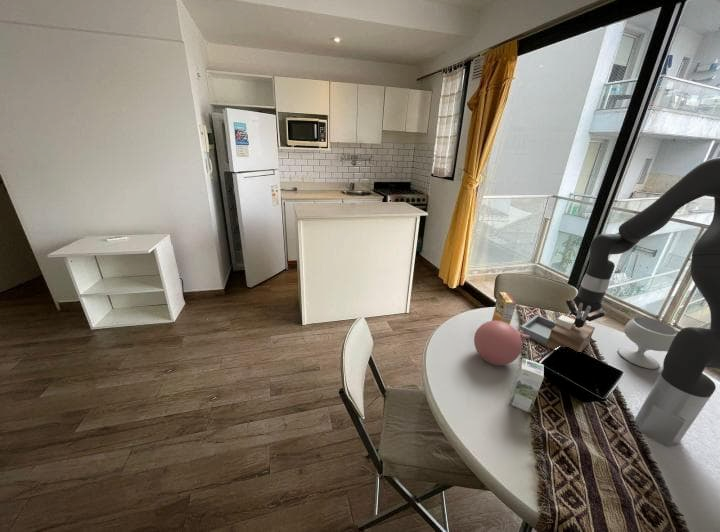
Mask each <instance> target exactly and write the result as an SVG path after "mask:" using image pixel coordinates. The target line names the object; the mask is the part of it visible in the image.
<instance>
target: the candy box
mask: <svg viewBox="0 0 720 532" xmlns="http://www.w3.org/2000/svg"><path fill="white" fill-rule="evenodd" d="M495 303H496V304H495V308H494V311H493V315H492V317H491V321H502V322H505V323H507V324H509V325H511V322H512V318H513V316H514V312H515V309H516V305H517V302H516V301H515V300H514V298H513V297H512V295H510V293H509V292H501V291H499V292H498V296H497V299H496V302H495Z"/></svg>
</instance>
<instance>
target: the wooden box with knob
mask: <svg viewBox="0 0 720 532" xmlns="http://www.w3.org/2000/svg"><path fill="white" fill-rule="evenodd" d="M568 317H569V316H568ZM569 318H571V317H569ZM573 319H574V318H573ZM575 319H576V318H575ZM575 319H574V320H575ZM595 329H596V327H594V326H593V325H590V324H587V323H585V324H584V326H583V327H582V328H581V327H580V328H578V327H575V326H574V327H573V328H571V329H570V330H569V329H567V328H564V327H562V326H560V325H556V326H555V327H554V328H553V329H552V330H551V333H550V336H549V339H548V341H547V344H546V346H545V347H547V348H549V349H551V350H554V349H555V348H557V347H559V346H562V347H563V348H564V347H569V348H571V349H573V350H575V351H577V352H581V353H582V352H584V350H585V349H586V348H587V346H588V345H589V342H590V341H591V338H592V336H593V333H594V331H595ZM554 351H555V350H554Z"/></svg>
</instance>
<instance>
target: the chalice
mask: <svg viewBox="0 0 720 532" xmlns="http://www.w3.org/2000/svg"><path fill="white" fill-rule="evenodd" d="M623 331H624V335H625V336H626V337H627V338H628V339H629V340H630V341H631V342H633V343H634V344H635V345H636V346H637V348H638V349H636V348H632V347H626V346H625V347H624V346H622V347H619V348H617V353H618V355H619V356H620V357H622V358H623V359H624V360H626V361H627V362H629V363H631V364H633V365H636V366H638V367H641V368H645V369H649V370H655V369H656V370H657V369H659V368H660V367H661V366H660V363H659V361H658V360H657V359H655V357H653V356H652V355H650V354H649V353H647V351H655V352H668V350H669V348H670V345H671V343H672V341H673V339H674V337H675V336H676V334H677V333H678V332H677V330H676V329H675V328H674V327H672V326H671V325H669V324H667V323H665V322H662V321H660V320H657V319H654V318H650V317H646V316H645V317H644V316H635V317H633V318H631V319H630V320H629V321H627V323H626V324H625V326H624V329H623Z"/></svg>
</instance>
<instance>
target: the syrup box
mask: <svg viewBox="0 0 720 532" xmlns="http://www.w3.org/2000/svg"><path fill="white" fill-rule="evenodd" d="M544 365H545V364H542V363H539V362H537V361H533V360H530V359H527V358H524V357H522V359H521V361H520V364H519V367H518V369H517V373H516V375H515V379H514V382H513V385H512V387H511V391H510V395H509V396H510V397H509V398H510V399H509V405H510V406H511V407H514V408H517V409H519V410H521V411H523V412H526V413H528V414H529V413H530V414H531V411H532V409H533V407H534V403H535V400H536V398H537V396H538V393H539V391H540V389H541V386H542V383H543V380H544V378H545V375H544V373H545V372H544V371H545V370H544V367H545V366H544Z"/></svg>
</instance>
